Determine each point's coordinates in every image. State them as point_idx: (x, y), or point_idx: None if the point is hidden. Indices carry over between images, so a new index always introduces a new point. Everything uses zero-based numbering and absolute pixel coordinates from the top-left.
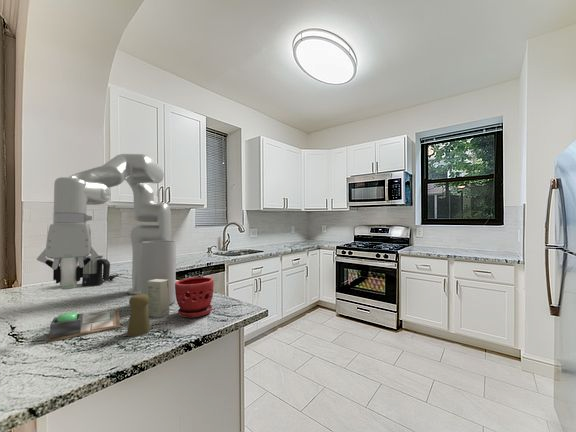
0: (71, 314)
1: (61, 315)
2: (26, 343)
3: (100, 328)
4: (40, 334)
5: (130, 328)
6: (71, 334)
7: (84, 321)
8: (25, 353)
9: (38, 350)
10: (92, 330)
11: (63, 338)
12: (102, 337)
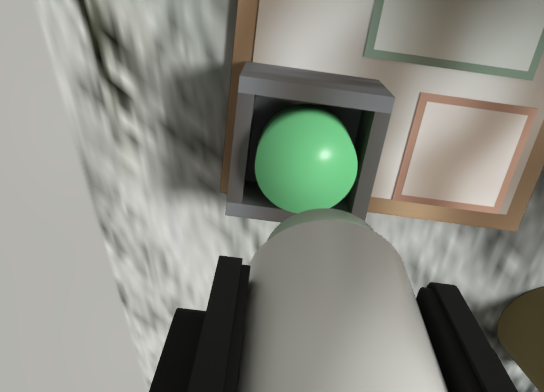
0: (326, 171)
1: (275, 150)
2: (148, 142)
3: (436, 206)
4: (187, 40)
5: (517, 361)
6: None
7: (402, 7)
8: (165, 258)
9: (203, 259)
10: (402, 201)
11: None
12: (416, 286)
